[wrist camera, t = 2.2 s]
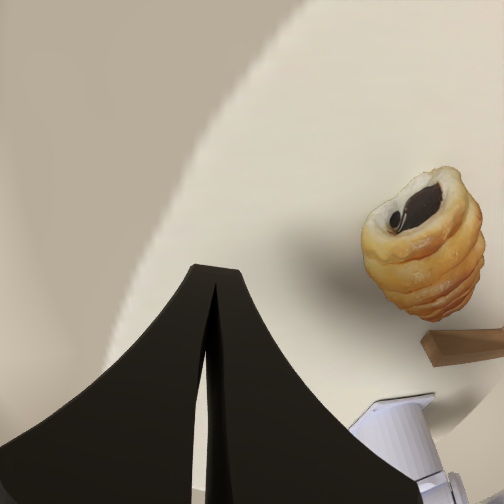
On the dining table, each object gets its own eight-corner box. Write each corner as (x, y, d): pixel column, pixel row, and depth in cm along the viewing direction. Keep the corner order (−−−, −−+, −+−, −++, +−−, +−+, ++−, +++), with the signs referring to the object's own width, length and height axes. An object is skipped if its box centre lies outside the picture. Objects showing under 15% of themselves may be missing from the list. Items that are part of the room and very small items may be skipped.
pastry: (477, 266, 16) (508, 301, 13) (401, 323, 18) (423, 365, 15) (439, 149, 12) (489, 175, 9) (336, 226, 14) (362, 272, 11)
